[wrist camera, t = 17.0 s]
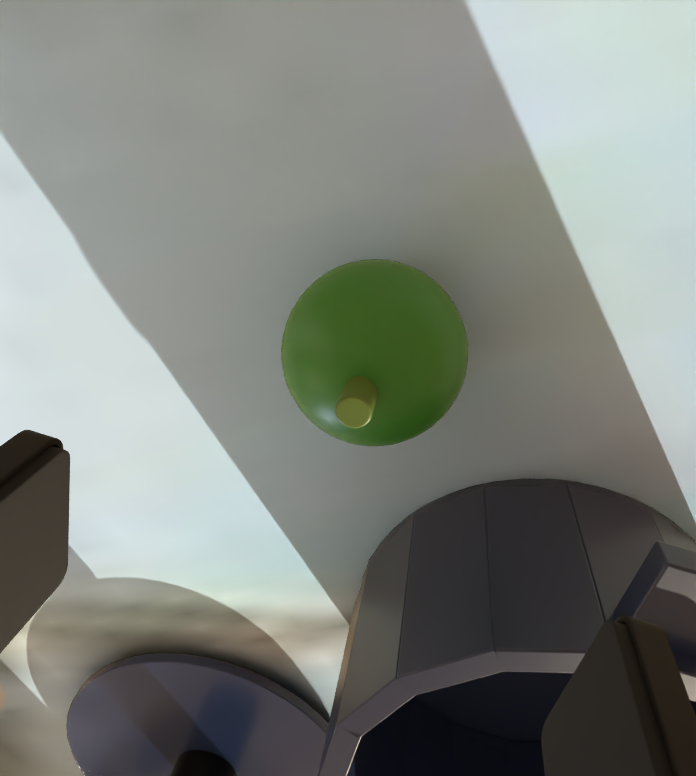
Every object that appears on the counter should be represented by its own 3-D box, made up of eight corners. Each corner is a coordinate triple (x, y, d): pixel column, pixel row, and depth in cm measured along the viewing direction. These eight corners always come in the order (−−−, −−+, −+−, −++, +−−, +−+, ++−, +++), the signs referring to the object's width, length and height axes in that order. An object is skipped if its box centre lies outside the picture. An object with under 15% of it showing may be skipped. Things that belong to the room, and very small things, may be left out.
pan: (316, 718, 32) (272, 907, 25) (428, 372, 23) (412, 505, 15) (606, 810, 31) (652, 1034, 24) (847, 490, 22) (1053, 694, 14)
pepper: (292, 372, 24) (229, 471, 17) (323, 222, 21) (262, 274, 15) (439, 414, 23) (430, 531, 17) (490, 267, 21) (502, 341, 14)
